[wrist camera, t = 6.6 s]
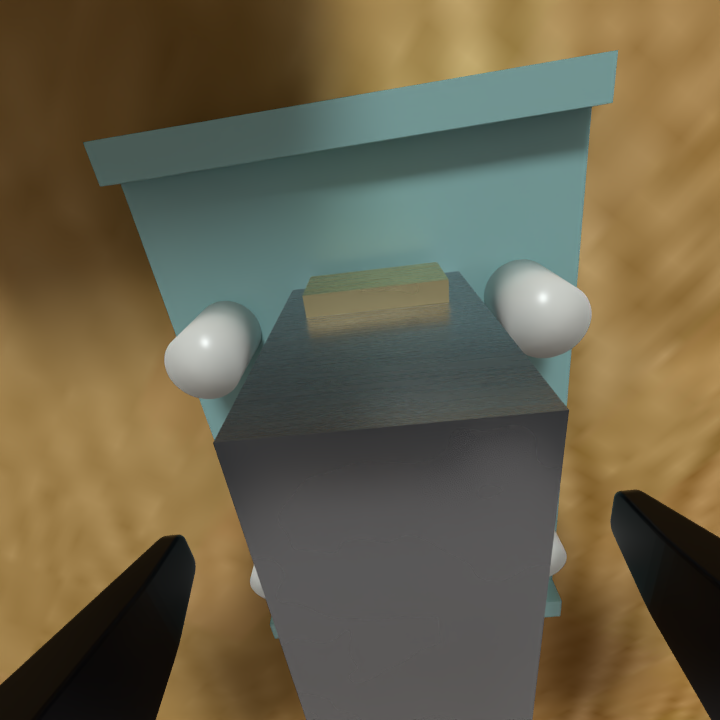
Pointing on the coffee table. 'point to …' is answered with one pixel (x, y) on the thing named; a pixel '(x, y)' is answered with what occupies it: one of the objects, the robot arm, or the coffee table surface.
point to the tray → (369, 213)
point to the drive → (399, 497)
